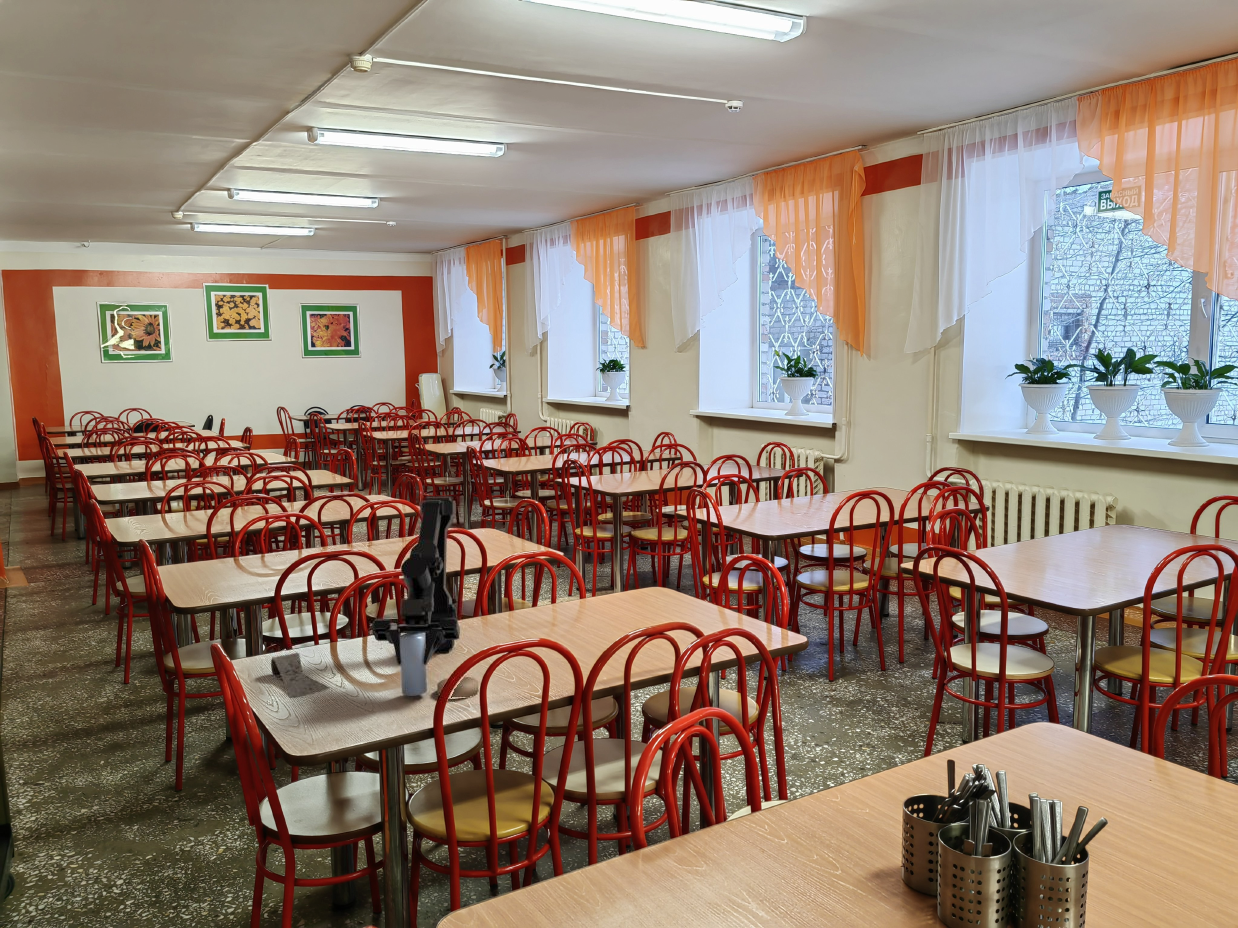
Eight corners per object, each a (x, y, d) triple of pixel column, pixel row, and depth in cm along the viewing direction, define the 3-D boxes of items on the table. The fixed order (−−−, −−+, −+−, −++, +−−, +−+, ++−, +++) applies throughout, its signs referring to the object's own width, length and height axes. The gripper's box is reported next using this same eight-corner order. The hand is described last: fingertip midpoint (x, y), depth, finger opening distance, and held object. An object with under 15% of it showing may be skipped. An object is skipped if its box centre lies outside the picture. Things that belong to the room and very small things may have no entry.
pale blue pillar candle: (398, 695, 204) (396, 639, 202) (405, 686, 209) (403, 632, 208) (423, 695, 204) (421, 640, 202) (429, 686, 209) (427, 632, 207)
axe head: (336, 683, 210) (291, 693, 204) (336, 704, 212) (291, 714, 206) (306, 647, 226) (263, 655, 220) (306, 666, 228) (264, 675, 222)
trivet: (432, 699, 205) (432, 690, 205) (443, 684, 214) (442, 676, 213) (473, 699, 204) (473, 690, 204) (482, 685, 213) (482, 676, 213)
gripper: (371, 583, 207) (361, 647, 198) (456, 582, 208) (450, 646, 198) (381, 608, 216) (371, 671, 206) (462, 607, 216) (456, 669, 207)
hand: (412, 664), depth 204 cm, fingers closed on pale blue pillar candle, 5 cm apart
